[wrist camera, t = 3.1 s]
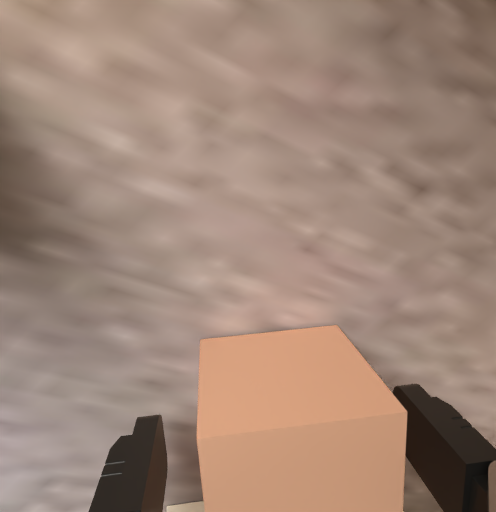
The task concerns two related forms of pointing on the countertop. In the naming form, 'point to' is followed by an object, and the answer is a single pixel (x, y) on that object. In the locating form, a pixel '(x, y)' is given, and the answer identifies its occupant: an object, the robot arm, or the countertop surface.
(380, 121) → the countertop surface
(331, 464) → the orange box
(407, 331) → the countertop surface
